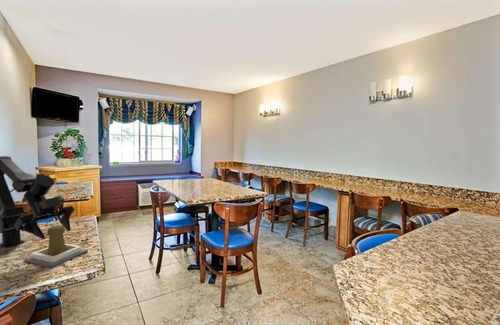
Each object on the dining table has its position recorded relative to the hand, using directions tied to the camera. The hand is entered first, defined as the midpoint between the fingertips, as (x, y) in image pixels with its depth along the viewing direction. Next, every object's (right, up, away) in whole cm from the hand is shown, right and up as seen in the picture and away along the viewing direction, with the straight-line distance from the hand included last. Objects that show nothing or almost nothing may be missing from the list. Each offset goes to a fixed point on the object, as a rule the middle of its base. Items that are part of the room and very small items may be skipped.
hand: (57, 234), depth 98 cm
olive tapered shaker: (-1, -8, +1) cm, 8 cm away
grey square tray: (0, -9, +1) cm, 9 cm away
